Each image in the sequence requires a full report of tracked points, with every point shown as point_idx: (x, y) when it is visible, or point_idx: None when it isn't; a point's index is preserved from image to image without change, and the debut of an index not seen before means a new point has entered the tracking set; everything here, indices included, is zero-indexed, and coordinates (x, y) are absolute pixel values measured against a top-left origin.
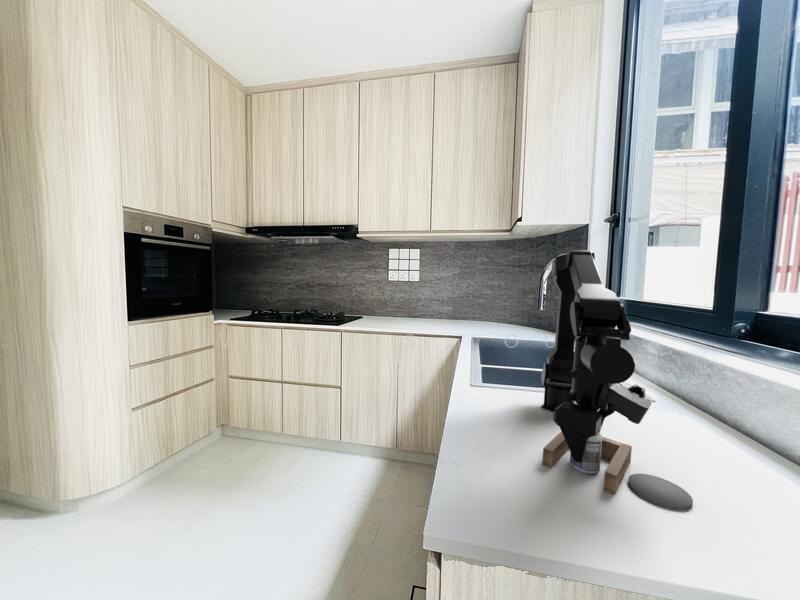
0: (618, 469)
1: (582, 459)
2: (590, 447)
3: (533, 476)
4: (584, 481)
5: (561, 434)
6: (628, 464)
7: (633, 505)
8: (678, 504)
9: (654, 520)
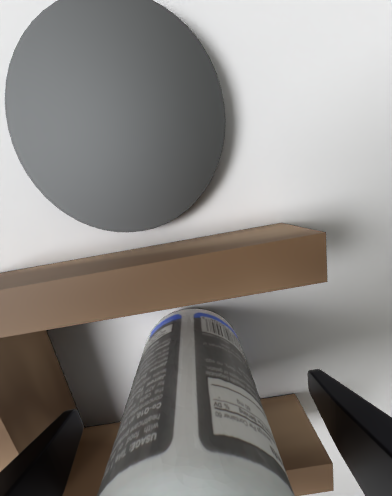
0: (245, 252)
1: (322, 380)
2: (264, 426)
3: (382, 396)
4: (284, 309)
5: None
6: (30, 268)
7: (296, 161)
8: (174, 28)
9: (332, 82)
